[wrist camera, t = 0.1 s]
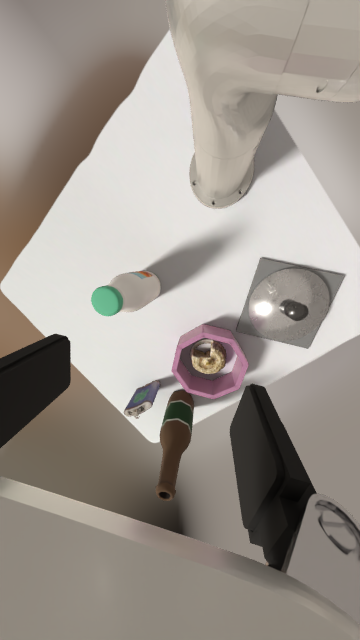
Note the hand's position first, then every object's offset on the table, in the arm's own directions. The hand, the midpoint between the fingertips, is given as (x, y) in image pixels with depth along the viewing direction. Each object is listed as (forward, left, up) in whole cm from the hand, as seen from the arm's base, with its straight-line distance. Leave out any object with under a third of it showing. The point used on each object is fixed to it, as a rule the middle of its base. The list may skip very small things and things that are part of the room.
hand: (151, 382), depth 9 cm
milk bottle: (+2, -12, -37) cm, 39 cm away
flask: (+33, -7, -37) cm, 50 cm away
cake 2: (+17, +8, -37) cm, 42 cm away
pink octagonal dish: (+17, +8, -37) cm, 41 cm away
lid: (-1, +22, -36) cm, 42 cm away
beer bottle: (+34, +4, -37) cm, 50 cm away
